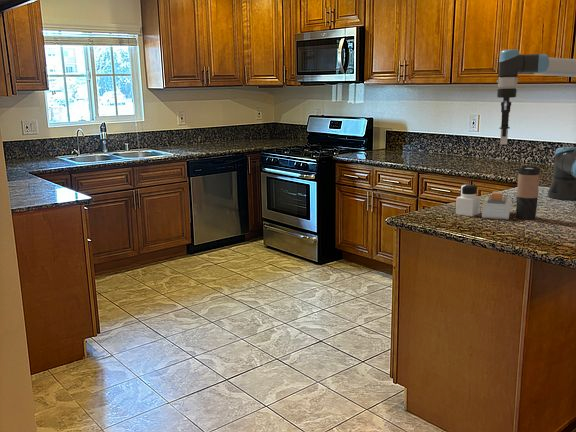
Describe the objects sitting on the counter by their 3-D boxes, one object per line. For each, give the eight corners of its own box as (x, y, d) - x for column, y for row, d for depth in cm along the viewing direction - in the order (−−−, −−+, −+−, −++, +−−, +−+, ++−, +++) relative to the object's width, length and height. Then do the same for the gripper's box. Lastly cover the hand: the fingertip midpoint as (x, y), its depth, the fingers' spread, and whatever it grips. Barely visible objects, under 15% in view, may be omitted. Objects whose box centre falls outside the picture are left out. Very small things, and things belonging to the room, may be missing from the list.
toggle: (502, 201, 226) (503, 191, 225) (501, 202, 223) (502, 192, 223) (491, 200, 228) (492, 191, 227) (491, 202, 225) (491, 192, 224)
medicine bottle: (479, 213, 232) (481, 184, 229) (472, 216, 227) (473, 187, 224) (463, 211, 237) (464, 183, 234) (455, 214, 232) (456, 185, 229)
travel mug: (538, 220, 219) (542, 169, 214) (517, 219, 220) (520, 168, 216) (533, 215, 226) (537, 166, 222) (513, 215, 228) (517, 166, 223)
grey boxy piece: (510, 212, 234) (511, 194, 232) (508, 219, 221) (509, 201, 220) (484, 210, 238) (485, 193, 236) (481, 217, 225) (482, 199, 223)
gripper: (498, 87, 245) (495, 142, 250) (496, 88, 233) (493, 145, 239) (517, 87, 242) (513, 142, 247) (516, 87, 231) (512, 145, 236)
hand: (503, 144), depth 243 cm, fingers closed
